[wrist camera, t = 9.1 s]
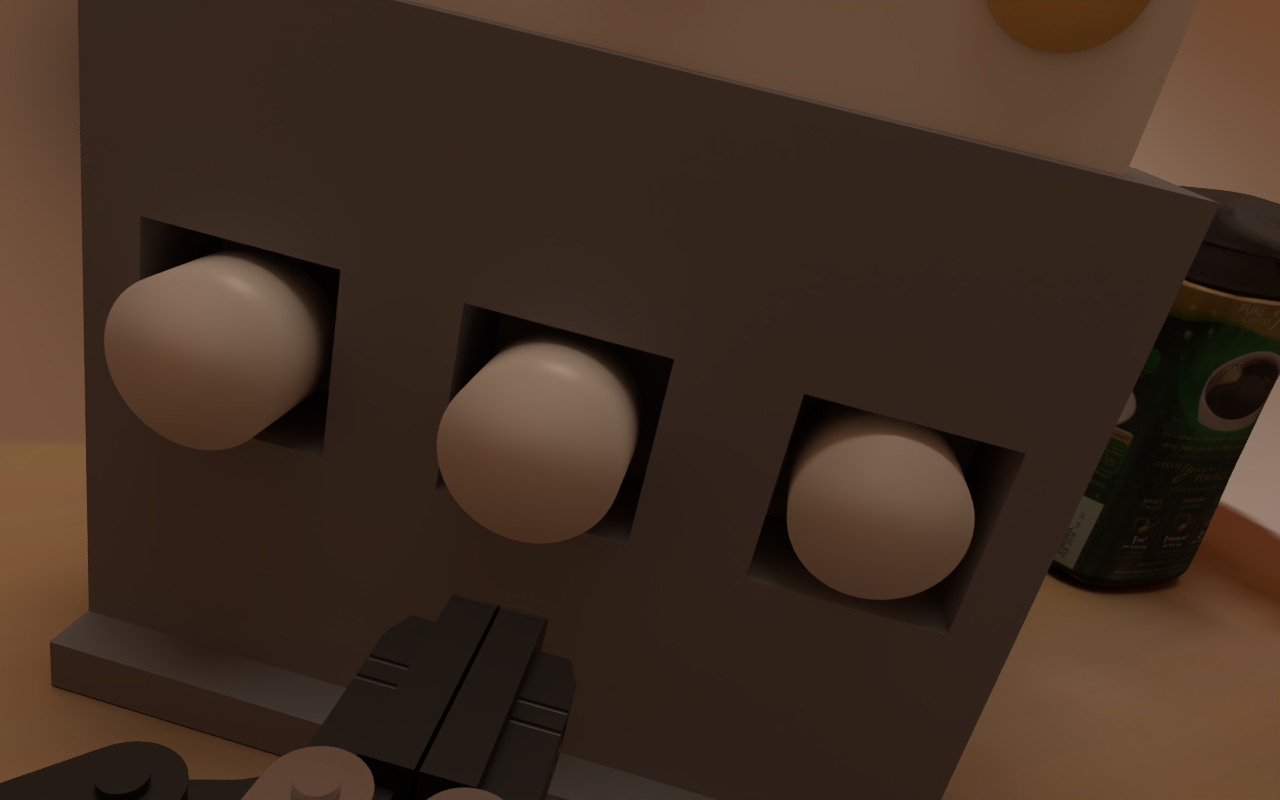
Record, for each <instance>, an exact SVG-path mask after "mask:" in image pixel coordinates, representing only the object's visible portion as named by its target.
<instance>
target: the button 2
mask: <svg viewBox="0 0 1280 800" xmlns="http://www.w3.org/2000/svg"><path fill="white" fill-rule="evenodd" d="M974 517H975V515H974V507H973V502H972V499H971V495H970V492H969V489H968V487H967V484H966V481H965V478H964V475H963V473H962V470H961V467H960V464H959V461H958V458H957V456H956V453H955V450H954V447H953V444H952V442H951V439H950V437H949V435H948V433H947V432H944V431H940V430H936V429H933V428H929V427H925V426H921V425H918V424H914V423H910V422H907V421H903V420H899V419H895V418H892V417H888V416H884V415H880V414H877V413H873V412H869V411H865V410H862V409H858V408H854V407H851V406H847V405H843V404H839V403H836V402H832V401H830V402H828V403H826V404H825V405H823V406H821V407H820V408H819V409H817V410H816V411H815V412H814V413H813V414H812V415H811V416H810V417H809V418H808V419H807V420H806V421H805V422H804V424H803V425H802V426H801V428H800V429H799V431H798V433H797V435H796V437H795V439H794V442H793V444H792V448H791V452H790V459H789V477H788V502H787V528H788V533H789V538H790V541H791V544H792V546H793V549H794V551H795V553H796V554H797V556H798V558H799V559H800V561H801V562H802V564H803V565H804V566H805V567H806V568H807V569H808V570H809V572H810V573H811V574H812V575H814V576H815V577H816V578H817V579H819V580H820V581H821V582H823V583H824V584H826V585H827V586H829V587H831V588H833V589H835V590H837V591H839V592H842V593H845V594H847V595H850V596H854V597H859V598H864V599H873V600H888V599H897V598H902V597H907V596H911V595H914V594H917V593H920V592H922V591H924V590H926V589H928V588H930V587H932V586H934V585H935V584H937V583H939V582H940V581H942V580H943V579H944V578H945V577H946V576H948V575H949V574H950V573H951V572H952V571H953V570H954V569H955V568H956V567H957V565H958V564H959V563H960V561H961V560H962V558H963V557H964V555H965V553H966V551H967V549H968V547H969V545H970V542H971V539H972V536H973V530H974Z"/></svg>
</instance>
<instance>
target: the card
mask: <svg viewBox="0 0 1280 800" xmlns="http://www.w3.org/2000/svg"><path fill="white" fill-rule="evenodd" d="M409 1H413V2H417V3H422V4H426V5H430V6H434V7H438V8H442V9H446V10H450V11H454V12H458V13H462V14H466V15H470V16H474V17H479V18H483V19H487V20H491V21H495V22H499V23H503V24H507V25H511V26H515V27H519V28H523V29H527V30H531V31H536V32H540V33H544V34H548V35H552V36H556V37H560V38H564V39H568V40H572V41H576V42H580V43H584V44H588V45H593V46H597V47H601V48H605V49H609V50H613V51H617V52H621V53H625V54H629V55H633V56H637V57H641V58H645V59H650V60H654V61H658V62H662V63H666V64H670V65H674V66H678V67H682V68H686V69H690V70H694V71H698V72H702V73H707V74H711V75H715V76H719V77H723V78H727V79H731V80H735V81H739V82H743V83H747V84H751V85H755V86H759V87H764V88H768V89H772V90H776V91H780V92H784V93H788V94H792V95H796V96H800V97H804V98H808V99H812V100H816V101H821V102H825V103H829V104H833V105H837V106H841V107H845V108H849V109H853V110H857V111H861V112H865V113H869V114H873V115H878V116H882V117H886V118H890V119H894V120H898V121H902V122H906V123H910V124H914V125H918V126H922V127H926V128H930V129H935V130H939V131H943V132H947V133H951V134H955V135H959V136H963V137H967V138H971V139H975V140H979V141H983V142H987V143H992V144H996V145H1000V146H1004V147H1008V148H1012V149H1016V150H1020V151H1024V152H1028V153H1032V154H1036V155H1040V156H1044V157H1049V158H1053V159H1057V160H1061V161H1065V162H1069V163H1073V164H1077V165H1081V166H1085V167H1089V168H1093V169H1097V170H1101V171H1106V172H1110V173H1114V174H1118V175H1122V176H1125V175H1126V172H1127V170H1128V168H1129V165H1130V163H1131V160H1132V158H1133V156H1134V153H1135V151H1136V148H1137V146H1138V144H1139V141H1140V139H1141V137H1142V134H1143V132H1144V130H1145V127H1146V125H1147V123H1148V120H1149V118H1150V116H1151V113H1152V111H1153V108H1154V106H1155V104H1156V101H1157V99H1158V97H1159V94H1160V92H1161V89H1162V87H1163V85H1164V82H1165V80H1166V78H1167V75H1168V73H1169V71H1170V68H1171V66H1172V63H1173V61H1174V59H1175V56H1176V54H1177V52H1178V49H1179V47H1180V45H1181V42H1182V40H1183V37H1184V35H1185V33H1186V30H1187V28H1188V26H1189V23H1190V21H1191V18H1192V16H1193V14H1194V11H1195V9H1196V7H1197V4H1198V2H1199V0H409Z"/></svg>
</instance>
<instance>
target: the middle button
mask: <svg viewBox="0 0 1280 800" xmlns="http://www.w3.org/2000/svg"><path fill="white" fill-rule="evenodd" d="M643 422H644V408H643V400H642V396H641V392H640V389H639V386H638V384H637V381H636V379H635V378H634V376H633V374H632V372H631V370H630V369H629V368H628V366H627V365H626V364H625V362H624V361H623V360H622V359H621V358H620V357H619V356H618V355H617V354H616V353H615V352H614V351H613V350H611V349H610V348H609V347H608V346H606V345H605V344H603V343H602V342H600V341H598V340H597V339H594V338H592V337H589V336H586V335H582V334H578V333H575V332H571V331H567V330H563V329H542V330H537V331H532V332H529V333H526V334H523V335H521V336H519V337H517V338H515V339H513V340H512V341H511V342H509V343H508V344H506V345H505V346H504V347H503V348H502V349H501V350H500V351H499V352H498V353H497V354H496V355H495V356H494V357H493V358H492V359H491V360H490V361H489V362H488V363H487V364H486V365H485V366H484V367H483V368H482V369H481V370H480V371H479V372H478V373H477V374H476V375H475V376H474V377H473V378H472V379H471V380H470V381H469V383H468V384H467V385H466V386H465V387H464V388H463V389H462V390H461V391H460V392H459V393H458V394H457V395H456V396H455V397H454V399H453V400H452V401H451V402H450V404H449V405H448V407H447V409H446V411H445V412H444V414H443V417H442V420H441V422H440V425H439V430H438V434H437V458H438V463H439V468H440V471H441V474H442V477H443V479H444V482H445V484H446V486H447V488H448V490H449V491H450V493H451V494H452V496H453V498H454V499H455V500H456V502H457V503H458V504H459V505H460V507H461V508H462V509H463V510H464V511H465V512H466V513H467V514H468V515H469V516H470V517H471V518H473V519H474V520H475V521H477V522H478V523H479V524H480V525H482V526H484V527H485V528H487V529H489V530H490V531H492V532H494V533H496V534H498V535H501V536H503V537H506V538H509V539H512V540H516V541H521V542H526V543H535V544H539V543H554V542H560V541H564V540H568V539H571V538H573V537H576V536H578V535H580V534H582V533H584V532H585V531H587V530H589V529H590V528H591V527H593V526H594V525H595V524H597V523H598V522H599V521H600V520H601V519H602V518H603V516H604V515H605V514H606V513H607V511H608V510H609V509H610V507H611V506H612V504H613V502H614V500H615V498H616V495H617V493H618V491H619V488H620V486H621V483H622V481H623V478H624V476H625V474H626V471H627V469H628V466H629V464H630V461H631V459H632V457H633V454H634V452H635V449H636V447H637V444H638V442H639V439H640V436H641V433H642V428H643Z"/></svg>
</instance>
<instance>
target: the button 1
mask: <svg viewBox="0 0 1280 800" xmlns="http://www.w3.org/2000/svg"><path fill="white" fill-rule="evenodd" d="M335 322H336V318H335V315H334V312H333V309H332V307H331V305H330V303H329V301H328V298H327V296H326V295H325V293H324V292H323V290H322V289H321V287H320V286H319V285H318V283H317V282H316V281H315V280H314V278H313V277H312V276H311V275H310V274H309V273H308V272H307V271H306V270H305V269H303V268H302V267H301V266H300V265H298V264H297V263H296V262H294V261H293V260H291V259H289V258H288V257H286V256H284V255H282V254H280V253H276V252H272V251H269V250H265V249H261V248H257V247H254V246H235V247H230V248H226V249H223V250H221V251H218V252H215V253H212V254H210V255H207V256H204V257H202V258H199V259H196V260H194V261H191V262H188V263H186V264H183V265H180V266H177V267H175V268H172V269H169V270H167V271H164V272H161V273H159V274H156V275H153V276H150V277H148V278H145V279H143V280H140V281H138V282H136V283H135V284H133V285H131V286H130V287H128V288H127V289H126V290H125V291H124V292H123V293H122V294H121V295H120V296H119V297H118V299H117V300H116V301H115V303H114V305H113V307H112V308H111V310H110V313H109V315H108V318H107V322H106V327H105V334H104V348H105V356H106V361H107V365H108V368H109V372H110V375H111V377H112V379H113V382H114V384H115V386H116V388H117V390H118V391H119V393H120V395H121V397H122V398H123V399H124V401H125V402H126V404H127V405H128V406H129V408H130V409H131V410H132V411H133V412H134V413H135V414H136V416H137V417H139V418H140V419H141V420H142V421H143V422H144V423H145V424H146V425H147V426H149V427H150V428H151V429H153V430H154V431H155V432H157V433H158V434H160V435H162V436H163V437H165V438H167V439H169V440H171V441H173V442H175V443H178V444H180V445H183V446H186V447H190V448H194V449H200V450H223V449H229V448H232V447H235V446H238V445H240V444H242V443H244V442H246V441H248V440H249V439H251V438H252V437H254V436H255V435H256V434H258V433H259V432H260V431H262V430H263V429H265V428H266V427H267V426H269V425H270V424H271V423H273V422H274V421H276V420H277V419H278V418H280V417H281V416H282V415H284V414H285V413H286V412H288V411H289V410H291V409H292V408H293V407H295V406H296V405H297V404H299V403H300V402H302V401H303V400H304V399H306V398H307V397H308V396H310V395H311V394H313V393H314V392H315V391H317V390H318V389H319V388H320V387H321V386H322V385H323V384H324V383H325V381H326V380H327V379H328V377H329V376H330V374H331V364H332V354H333V343H334V333H335Z"/></svg>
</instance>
